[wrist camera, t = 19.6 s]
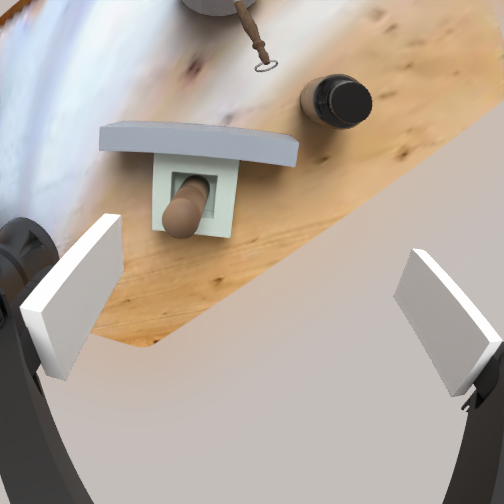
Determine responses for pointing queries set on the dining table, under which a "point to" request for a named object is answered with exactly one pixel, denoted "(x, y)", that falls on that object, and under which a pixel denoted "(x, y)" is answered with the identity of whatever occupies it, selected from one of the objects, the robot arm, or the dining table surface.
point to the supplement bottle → (336, 101)
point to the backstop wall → (200, 141)
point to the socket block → (220, 197)
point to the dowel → (186, 207)
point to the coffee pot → (225, 3)
